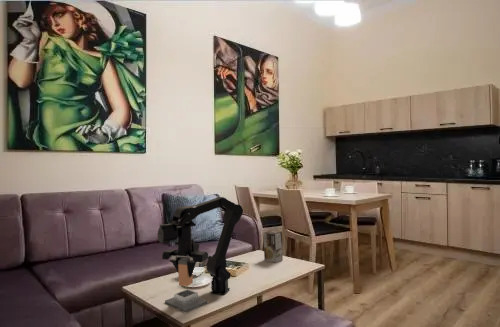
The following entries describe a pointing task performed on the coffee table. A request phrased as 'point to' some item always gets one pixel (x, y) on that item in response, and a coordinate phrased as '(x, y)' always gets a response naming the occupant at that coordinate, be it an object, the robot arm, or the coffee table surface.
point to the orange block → (184, 272)
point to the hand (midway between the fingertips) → (185, 276)
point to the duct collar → (186, 300)
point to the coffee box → (273, 246)
